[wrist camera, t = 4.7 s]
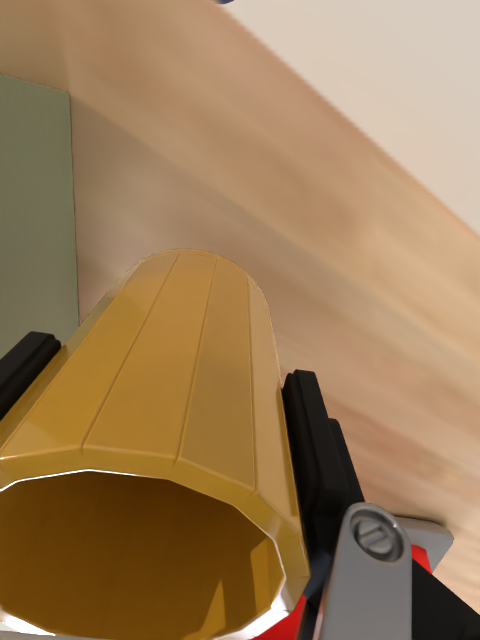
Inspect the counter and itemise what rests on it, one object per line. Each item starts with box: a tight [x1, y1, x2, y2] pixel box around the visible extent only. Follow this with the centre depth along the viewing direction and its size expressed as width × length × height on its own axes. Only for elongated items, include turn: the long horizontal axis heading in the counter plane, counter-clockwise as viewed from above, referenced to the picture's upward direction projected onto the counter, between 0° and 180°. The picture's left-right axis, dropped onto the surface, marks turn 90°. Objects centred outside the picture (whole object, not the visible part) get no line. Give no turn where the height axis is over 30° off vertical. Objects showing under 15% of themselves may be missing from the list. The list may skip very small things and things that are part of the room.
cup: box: [0, 249, 312, 640], centre depth 10 cm, size 6×6×9 cm
